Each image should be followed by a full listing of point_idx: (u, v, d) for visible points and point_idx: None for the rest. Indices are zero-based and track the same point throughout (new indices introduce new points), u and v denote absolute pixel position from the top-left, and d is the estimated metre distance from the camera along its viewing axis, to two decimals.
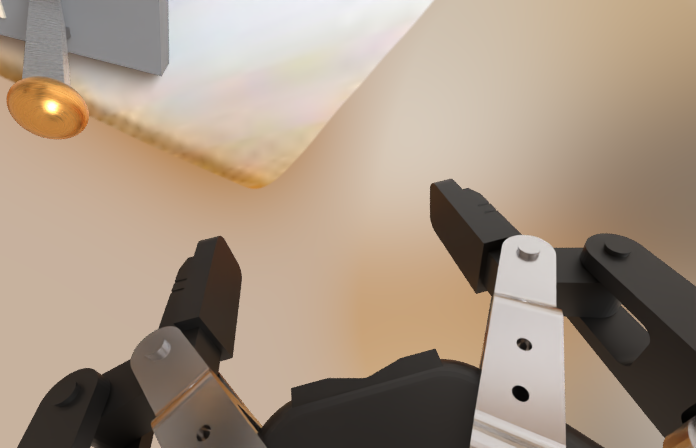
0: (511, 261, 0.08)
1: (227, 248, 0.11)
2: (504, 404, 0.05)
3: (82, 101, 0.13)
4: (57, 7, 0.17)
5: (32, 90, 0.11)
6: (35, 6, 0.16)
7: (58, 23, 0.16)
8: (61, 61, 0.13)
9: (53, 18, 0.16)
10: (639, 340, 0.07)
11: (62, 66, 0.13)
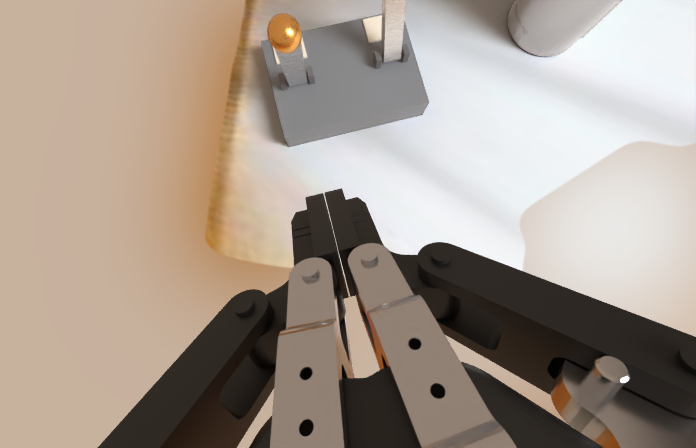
0: (362, 274, 0.08)
1: (326, 206, 0.12)
2: (433, 411, 0.05)
3: (295, 48, 0.22)
4: (305, 73, 0.31)
5: (296, 23, 0.21)
6: None
7: (304, 66, 0.29)
8: None
9: None
10: (486, 318, 0.09)
11: (301, 49, 0.24)
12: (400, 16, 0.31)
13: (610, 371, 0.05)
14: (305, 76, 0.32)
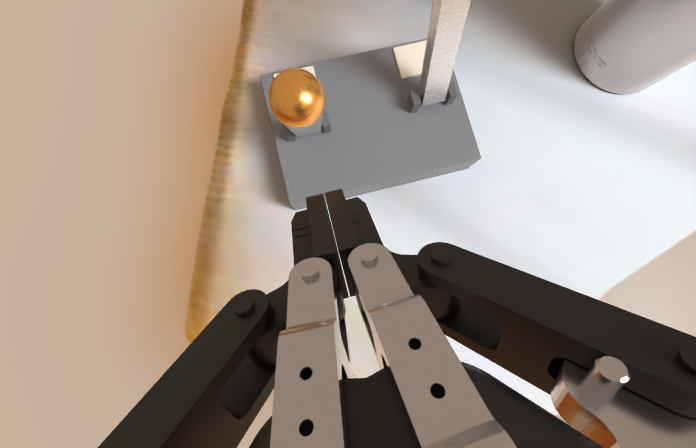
0: (363, 274, 0.08)
1: (326, 206, 0.12)
2: (433, 411, 0.05)
3: (315, 121, 0.13)
4: (320, 127, 0.23)
5: (317, 84, 0.13)
6: None
7: (321, 123, 0.20)
8: (322, 114, 0.16)
9: None
10: (486, 318, 0.09)
11: (322, 114, 0.15)
12: (452, 50, 0.22)
13: (610, 371, 0.05)
14: (320, 129, 0.23)
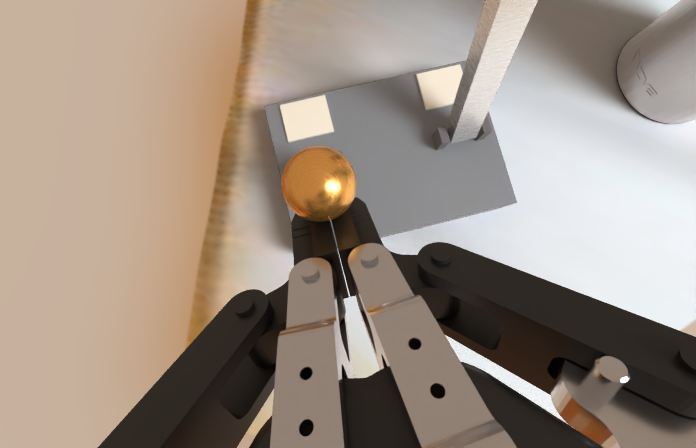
0: (362, 274, 0.08)
1: None
2: (433, 411, 0.05)
3: None
4: None
5: (348, 168, 0.09)
6: None
7: None
8: None
9: None
10: (486, 318, 0.09)
11: None
12: (493, 86, 0.19)
13: (610, 371, 0.05)
14: None
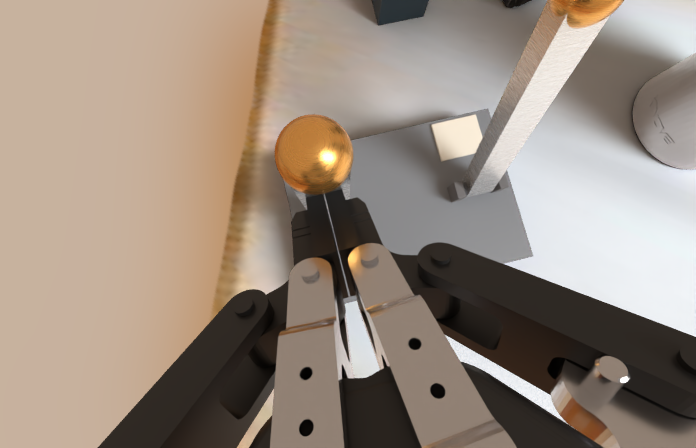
0: (362, 274, 0.08)
1: (326, 206, 0.12)
2: (433, 411, 0.05)
3: (338, 183, 0.09)
4: None
5: None
6: None
7: None
8: (349, 186, 0.12)
9: None
10: (486, 318, 0.09)
11: (349, 183, 0.11)
12: (512, 151, 0.19)
13: (610, 371, 0.05)
14: None
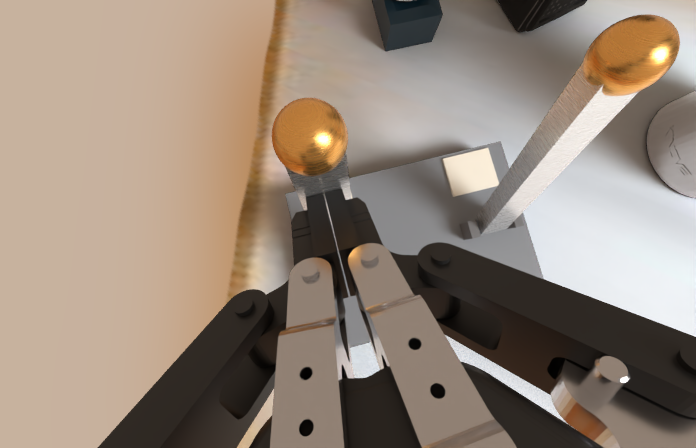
0: (362, 274, 0.08)
1: (326, 206, 0.12)
2: (433, 411, 0.05)
3: (332, 158, 0.09)
4: None
5: None
6: None
7: None
8: (349, 184, 0.12)
9: None
10: (486, 318, 0.09)
11: (348, 178, 0.11)
12: (531, 197, 0.18)
13: (610, 371, 0.05)
14: None
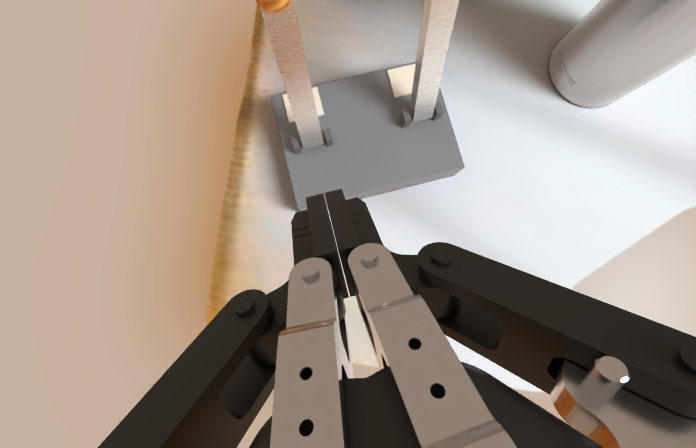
0: (363, 274, 0.08)
1: (326, 206, 0.12)
2: (433, 411, 0.05)
3: None
4: (317, 114, 0.26)
5: None
6: None
7: None
8: None
9: None
10: (486, 318, 0.09)
11: (298, 25, 0.19)
12: (437, 77, 0.26)
13: (610, 371, 0.05)
14: (318, 121, 0.27)
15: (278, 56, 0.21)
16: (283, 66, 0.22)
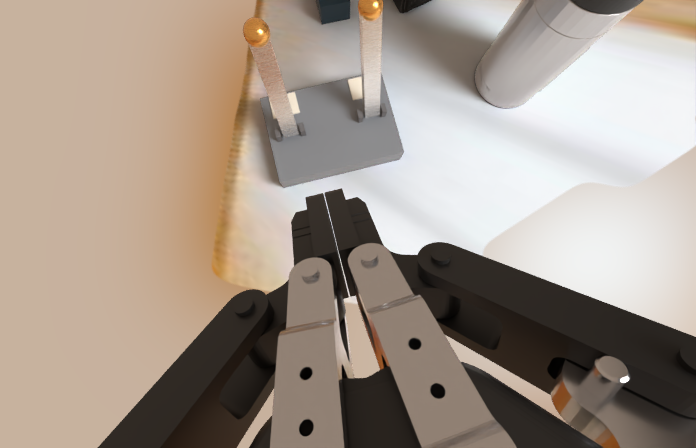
0: (363, 274, 0.08)
1: (326, 206, 0.12)
2: (433, 411, 0.05)
3: (263, 37, 0.28)
4: (292, 112, 0.37)
5: (265, 23, 0.28)
6: None
7: (287, 95, 0.35)
8: (275, 58, 0.30)
9: (288, 98, 0.35)
10: (486, 318, 0.09)
11: (274, 53, 0.30)
12: (377, 85, 0.36)
13: (610, 371, 0.05)
14: (293, 117, 0.37)
15: (261, 73, 0.31)
16: (265, 79, 0.32)
